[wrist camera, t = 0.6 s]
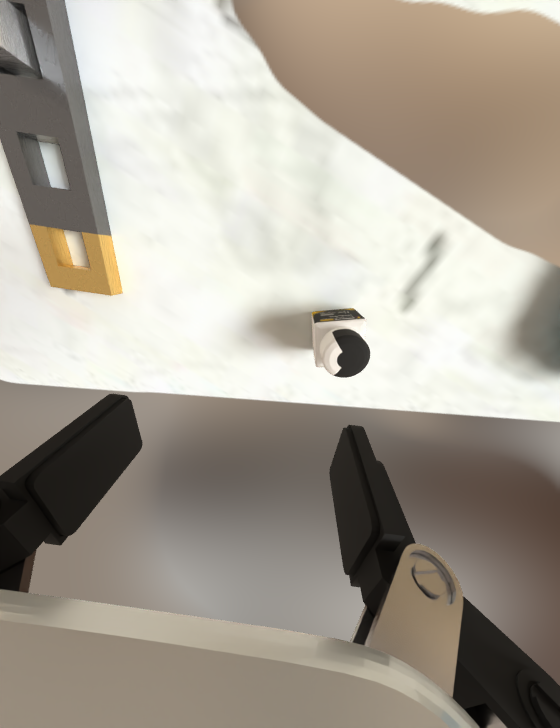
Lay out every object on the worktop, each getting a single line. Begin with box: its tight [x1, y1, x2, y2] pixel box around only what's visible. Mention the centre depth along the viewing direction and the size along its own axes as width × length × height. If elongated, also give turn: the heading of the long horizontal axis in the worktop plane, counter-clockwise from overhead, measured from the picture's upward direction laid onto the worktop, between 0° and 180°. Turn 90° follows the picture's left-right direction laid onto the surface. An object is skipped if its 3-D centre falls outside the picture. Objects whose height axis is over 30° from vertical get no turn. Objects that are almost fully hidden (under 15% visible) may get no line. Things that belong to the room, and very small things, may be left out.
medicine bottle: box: [312, 308, 370, 377], centre depth 32 cm, size 7×7×12 cm
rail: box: [0, 0, 123, 296], centre depth 29 cm, size 32×10×2 cm, turn 173°
